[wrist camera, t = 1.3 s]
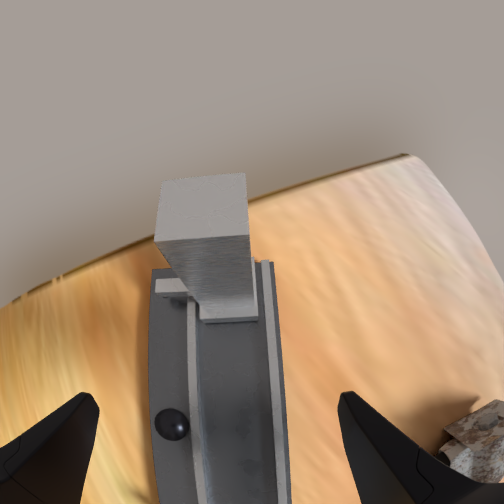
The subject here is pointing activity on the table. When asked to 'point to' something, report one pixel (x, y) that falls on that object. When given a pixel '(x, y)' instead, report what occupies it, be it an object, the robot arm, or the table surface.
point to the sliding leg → (208, 246)
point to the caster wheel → (477, 444)
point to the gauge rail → (218, 401)
